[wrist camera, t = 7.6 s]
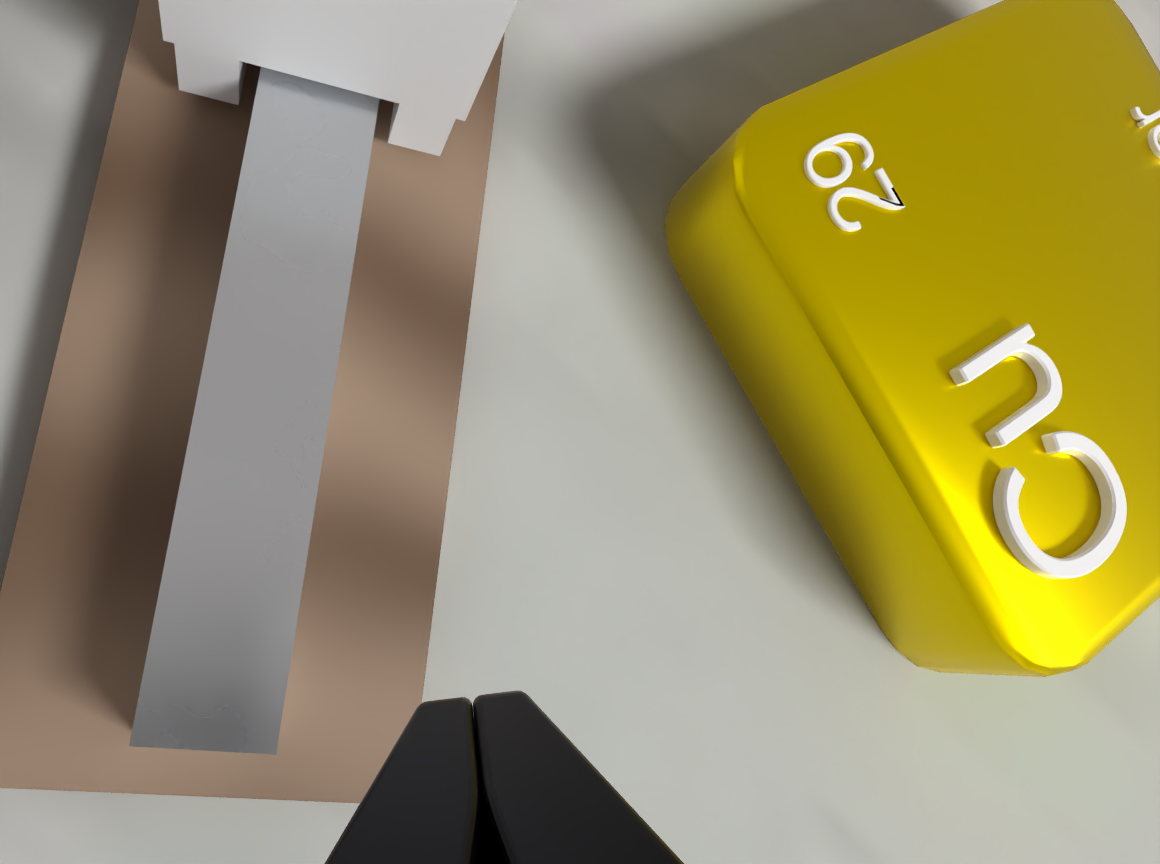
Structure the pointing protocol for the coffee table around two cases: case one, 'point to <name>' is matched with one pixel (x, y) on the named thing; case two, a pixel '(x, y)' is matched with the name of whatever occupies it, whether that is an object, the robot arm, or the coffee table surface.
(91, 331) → the mounting board
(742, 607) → the coffee table surface
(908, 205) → the element tile
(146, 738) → the rail
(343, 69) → the block
